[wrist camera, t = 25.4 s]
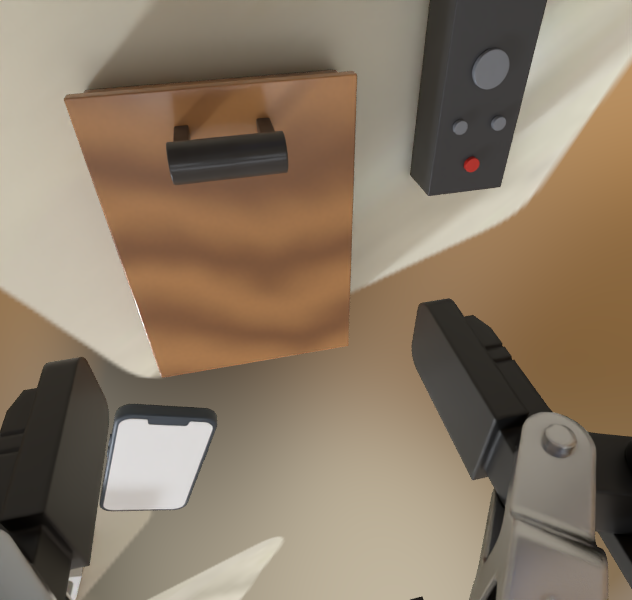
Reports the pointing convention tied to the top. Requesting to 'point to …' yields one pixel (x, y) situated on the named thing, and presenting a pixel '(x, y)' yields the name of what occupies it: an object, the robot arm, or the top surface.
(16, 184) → the top surface
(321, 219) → the lid
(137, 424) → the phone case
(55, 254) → the top surface
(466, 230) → the top surface
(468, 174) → the remote
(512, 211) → the top surface
